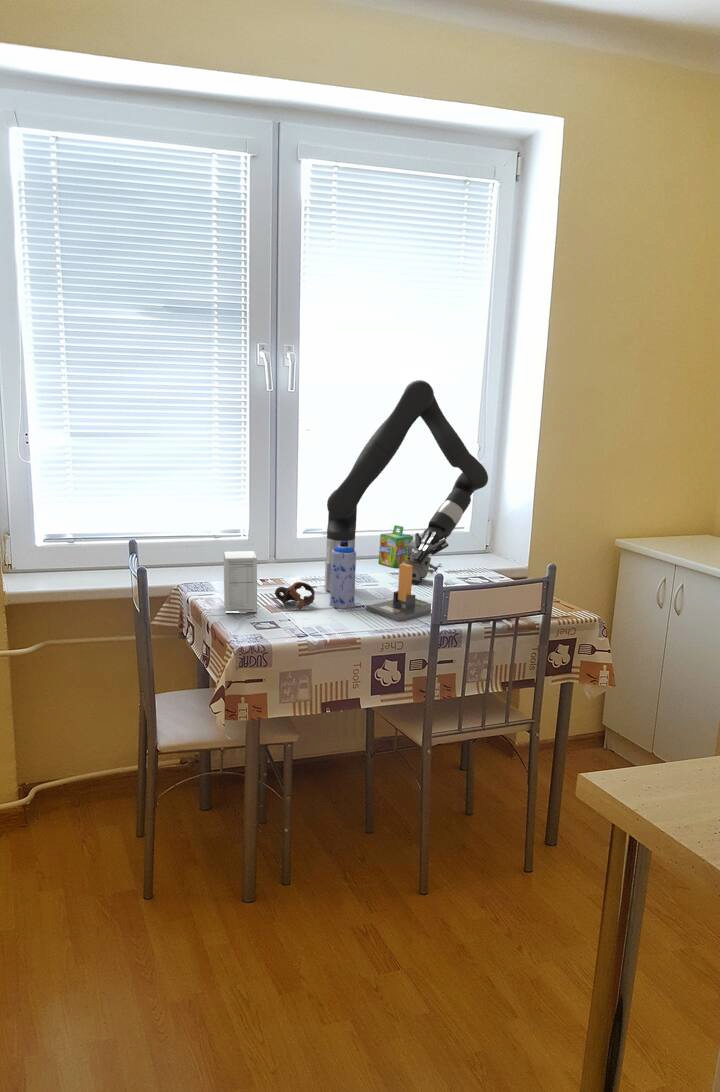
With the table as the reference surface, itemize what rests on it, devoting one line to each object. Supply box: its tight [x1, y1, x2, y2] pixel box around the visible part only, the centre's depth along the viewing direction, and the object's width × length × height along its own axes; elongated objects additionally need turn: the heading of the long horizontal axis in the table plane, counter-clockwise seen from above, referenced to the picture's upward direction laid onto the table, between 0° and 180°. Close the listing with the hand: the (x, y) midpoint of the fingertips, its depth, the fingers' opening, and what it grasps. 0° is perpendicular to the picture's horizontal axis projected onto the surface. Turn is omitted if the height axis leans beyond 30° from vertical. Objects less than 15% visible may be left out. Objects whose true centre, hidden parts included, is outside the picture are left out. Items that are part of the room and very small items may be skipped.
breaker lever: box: [397, 563, 413, 605], centre depth 242 cm, size 2×4×12 cm, turn 42°
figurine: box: [406, 539, 443, 585], centre depth 278 cm, size 9×12×15 cm
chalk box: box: [378, 524, 414, 569], centre depth 303 cm, size 9×9×15 cm
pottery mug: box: [274, 581, 316, 610], centre depth 244 cm, size 12×10×8 cm
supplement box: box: [223, 550, 258, 613], centre depth 237 cm, size 10×9×17 cm
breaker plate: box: [365, 590, 432, 622], centre depth 243 cm, size 18×14×6 cm
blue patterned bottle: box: [329, 541, 357, 609], centre depth 246 cm, size 8×8×20 cm
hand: (416, 562), depth 244 cm, fingers closed
